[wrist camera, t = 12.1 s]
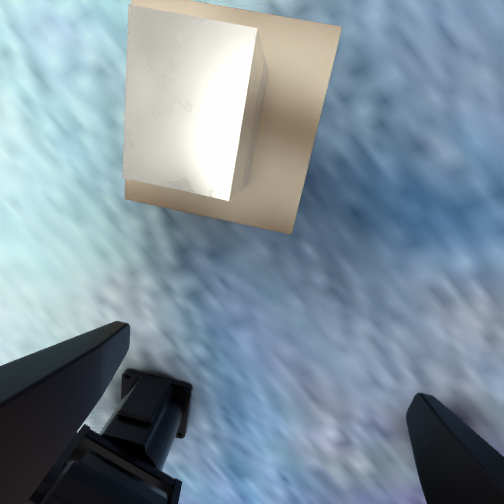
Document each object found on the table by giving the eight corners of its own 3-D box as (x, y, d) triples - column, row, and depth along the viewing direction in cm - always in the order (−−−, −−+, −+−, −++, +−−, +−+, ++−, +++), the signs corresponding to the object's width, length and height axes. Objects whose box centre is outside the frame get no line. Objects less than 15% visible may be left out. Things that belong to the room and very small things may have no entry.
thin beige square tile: (291, 225, 21) (291, 234, 18) (143, 193, 21) (124, 199, 19) (334, 44, 17) (342, 26, 15) (152, 12, 17) (131, -10, 15)
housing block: (248, 184, 18) (228, 200, 12) (175, 169, 18) (122, 177, 12) (269, 72, 16) (257, 28, 10) (186, 56, 16) (128, 4, 10)
